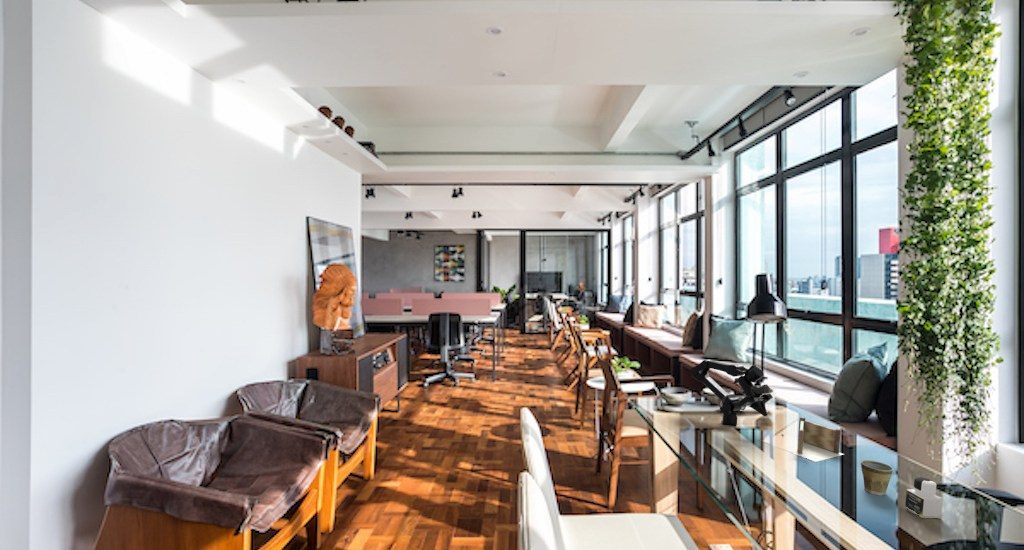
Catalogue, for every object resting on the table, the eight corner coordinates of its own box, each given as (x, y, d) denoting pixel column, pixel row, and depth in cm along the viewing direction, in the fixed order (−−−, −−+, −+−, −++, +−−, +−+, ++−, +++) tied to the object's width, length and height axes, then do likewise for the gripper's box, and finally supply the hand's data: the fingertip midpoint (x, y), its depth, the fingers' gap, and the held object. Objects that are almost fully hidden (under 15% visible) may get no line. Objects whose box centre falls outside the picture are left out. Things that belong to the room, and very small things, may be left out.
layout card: (756, 440, 249) (757, 439, 249) (785, 434, 260) (785, 433, 260) (815, 462, 225) (815, 461, 225) (844, 455, 236) (844, 454, 236)
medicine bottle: (904, 508, 186) (907, 475, 185) (923, 508, 186) (926, 475, 186) (921, 519, 179) (924, 484, 178) (941, 519, 179) (944, 484, 179)
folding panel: (798, 440, 250) (799, 420, 250) (803, 441, 249) (804, 420, 249) (797, 452, 234) (798, 430, 234) (802, 453, 233) (804, 431, 233)
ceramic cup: (892, 500, 192) (894, 473, 192) (859, 492, 197) (861, 466, 197) (889, 487, 203) (891, 462, 203) (858, 480, 208) (860, 455, 208)
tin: (744, 411, 299) (745, 396, 299) (746, 412, 296) (747, 397, 296) (717, 409, 301) (718, 394, 300) (718, 410, 297) (719, 395, 297)
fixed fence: (796, 440, 252) (798, 417, 252) (799, 439, 253) (801, 416, 253) (837, 454, 236) (839, 429, 235) (840, 453, 237) (842, 429, 236)
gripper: (746, 380, 253) (765, 409, 245) (771, 377, 263) (790, 405, 254) (731, 391, 261) (749, 421, 252) (755, 388, 270) (773, 416, 261)
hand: (765, 415), depth 254 cm, fingers closed
